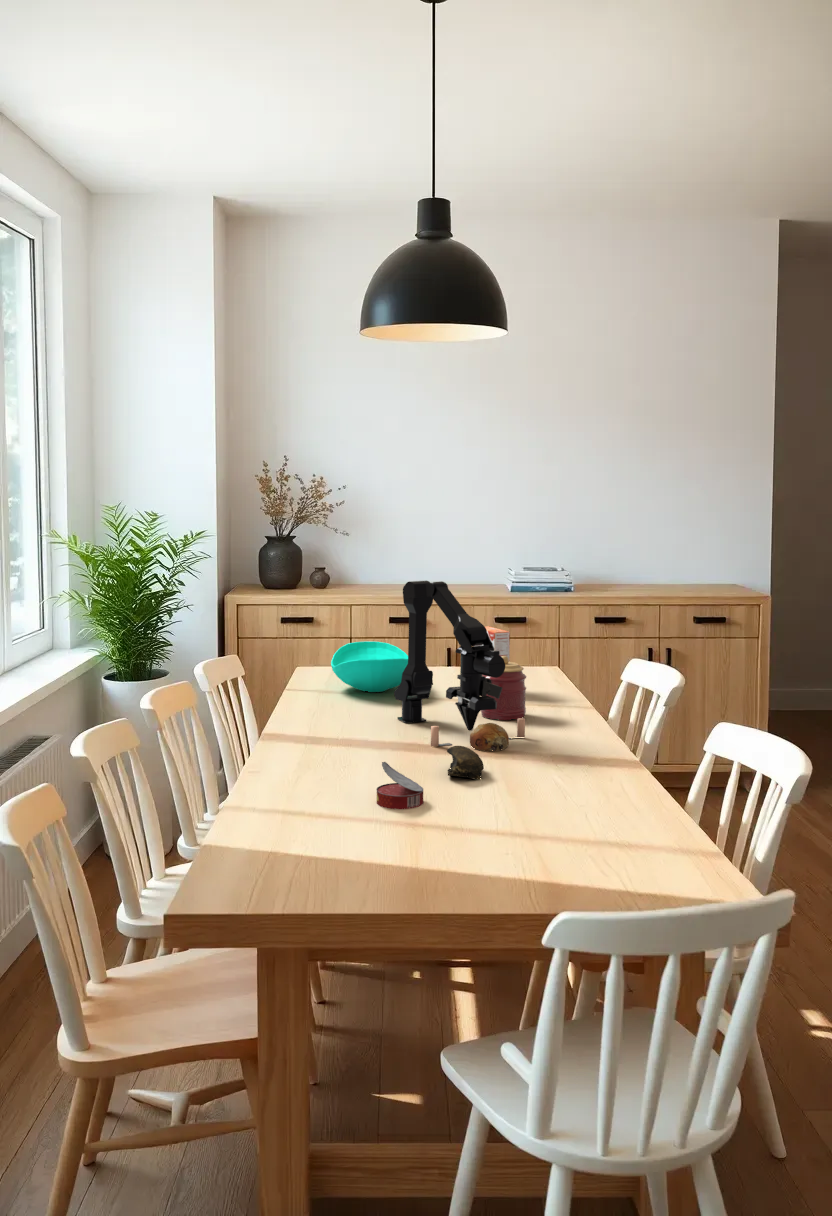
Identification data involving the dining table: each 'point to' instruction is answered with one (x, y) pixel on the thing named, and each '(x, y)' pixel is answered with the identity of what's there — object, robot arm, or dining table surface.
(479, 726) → the bread roll
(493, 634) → the cracker box
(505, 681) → the canister
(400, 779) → the canned food
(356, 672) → the table top decor
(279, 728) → the dining table surface
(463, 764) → the seashell
